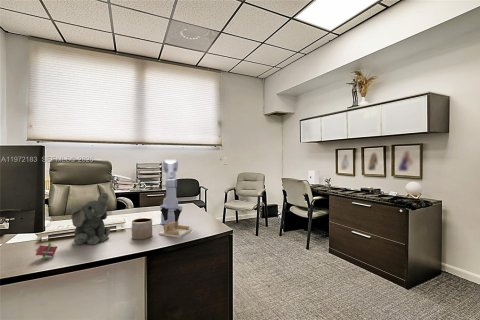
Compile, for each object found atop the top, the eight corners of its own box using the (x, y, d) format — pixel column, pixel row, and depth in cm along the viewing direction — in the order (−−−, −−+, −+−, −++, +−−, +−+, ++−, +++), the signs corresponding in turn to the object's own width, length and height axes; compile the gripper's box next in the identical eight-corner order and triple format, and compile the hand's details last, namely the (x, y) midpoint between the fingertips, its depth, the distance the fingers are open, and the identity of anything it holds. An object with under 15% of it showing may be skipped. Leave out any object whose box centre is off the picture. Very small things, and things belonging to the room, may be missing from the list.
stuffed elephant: (107, 245, 119) (107, 193, 119) (61, 248, 116) (61, 194, 115) (119, 233, 138) (119, 188, 138) (80, 235, 134) (80, 188, 134)
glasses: (189, 228, 143) (188, 221, 143) (177, 234, 132) (177, 226, 132) (175, 227, 146) (175, 220, 146) (163, 233, 135) (163, 225, 135)
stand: (190, 231, 143) (190, 226, 143) (179, 237, 131) (179, 232, 131) (171, 228, 147) (171, 224, 147) (159, 234, 136) (159, 230, 136)
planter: (127, 238, 130) (127, 221, 130) (143, 232, 140) (143, 216, 140) (140, 241, 125) (140, 223, 125) (156, 235, 135) (156, 219, 135)
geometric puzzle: (59, 247, 110) (46, 237, 107) (63, 251, 106) (49, 240, 102) (43, 260, 106) (29, 250, 102) (47, 265, 102) (32, 254, 98)
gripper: (156, 198, 139) (156, 221, 139) (177, 200, 134) (177, 223, 134) (164, 197, 145) (164, 218, 146) (184, 198, 141) (184, 220, 141)
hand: (171, 220), depth 140 cm, fingers open, 7 cm apart
